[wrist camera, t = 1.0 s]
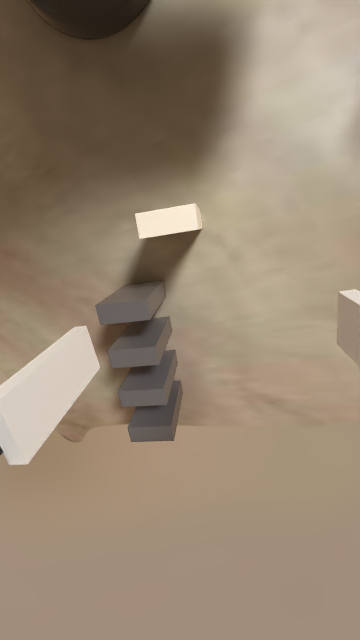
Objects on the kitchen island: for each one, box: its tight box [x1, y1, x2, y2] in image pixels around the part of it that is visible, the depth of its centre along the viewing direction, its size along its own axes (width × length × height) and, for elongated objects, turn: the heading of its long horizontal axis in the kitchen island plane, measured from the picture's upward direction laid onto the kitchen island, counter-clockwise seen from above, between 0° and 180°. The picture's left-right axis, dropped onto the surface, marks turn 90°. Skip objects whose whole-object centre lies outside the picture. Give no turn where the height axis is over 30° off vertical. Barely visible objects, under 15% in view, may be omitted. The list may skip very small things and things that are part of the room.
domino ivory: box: [135, 203, 202, 239], centre depth 26 cm, size 2×5×9 cm, turn 98°
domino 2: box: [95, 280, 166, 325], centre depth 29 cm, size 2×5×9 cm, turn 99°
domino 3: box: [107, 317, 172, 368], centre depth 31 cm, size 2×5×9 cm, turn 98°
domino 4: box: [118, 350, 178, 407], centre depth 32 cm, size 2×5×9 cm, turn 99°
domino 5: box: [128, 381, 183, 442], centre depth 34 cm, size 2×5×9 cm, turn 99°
